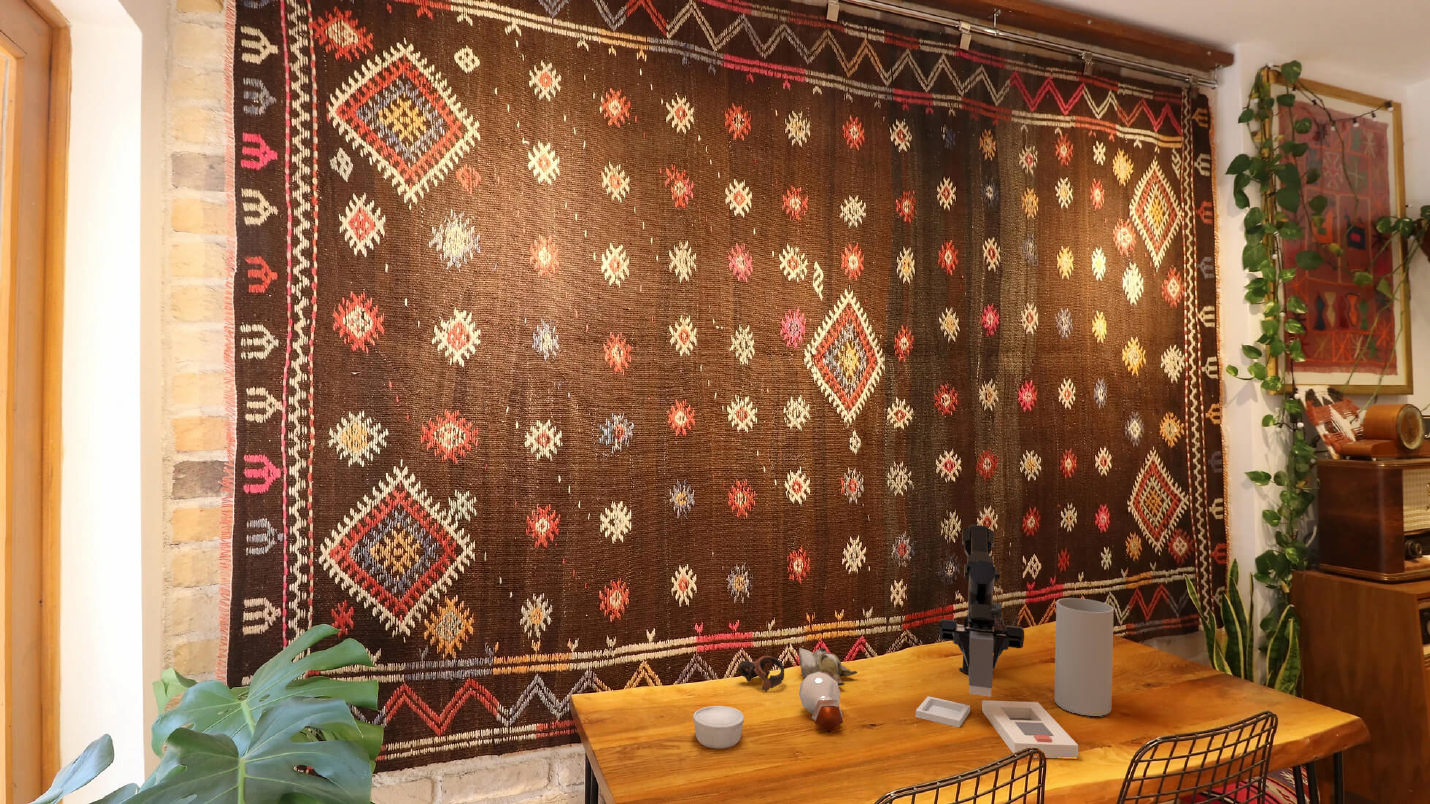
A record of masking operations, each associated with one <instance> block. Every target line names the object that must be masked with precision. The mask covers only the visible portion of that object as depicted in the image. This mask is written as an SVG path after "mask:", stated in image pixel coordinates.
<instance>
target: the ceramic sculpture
mask: <svg viewBox="0 0 1430 804" xmlns="http://www.w3.org/2000/svg"><path fill="white" fill-rule="evenodd" d="M798 661H799V663H798V664H799V666H800V669H801V670H800V673H801V675H802V678H804V679H805V678H806V677H807V675H809V674H812V673H816V672H822V673H825V674H828V675H829V676H831V677H832V678H833V679H834V680H835V681H837V683H838V686H839V687H840V686H845V683H844V682H843V681H842V679H841V677H843V678H847V677H850V676H853V675H857V674H858V671H856V670H850V669H849V668H847V667H846V666H845V665H843V664H842V662H841V660H840V659H839V657H838V655H836V654H834V653H831V652H827V649H826V648H824V647H823V648H819V649H817V650H815V651H814V652H812V651H810V650H808V649H805V648H802V647H799V649H798Z"/></svg>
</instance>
